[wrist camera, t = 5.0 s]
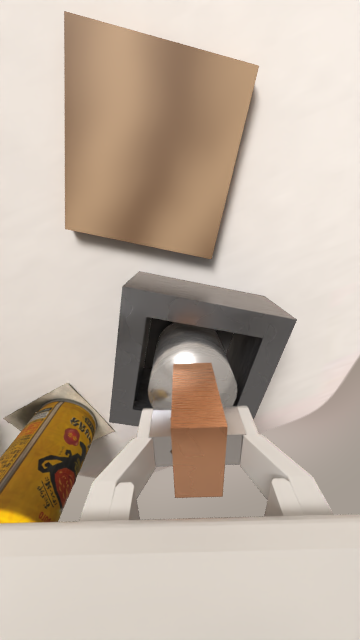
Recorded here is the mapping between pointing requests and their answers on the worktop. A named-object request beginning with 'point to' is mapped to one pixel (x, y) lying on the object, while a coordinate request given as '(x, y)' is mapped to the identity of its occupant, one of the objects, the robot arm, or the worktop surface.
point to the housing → (205, 311)
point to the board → (149, 136)
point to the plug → (194, 405)
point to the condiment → (46, 455)
